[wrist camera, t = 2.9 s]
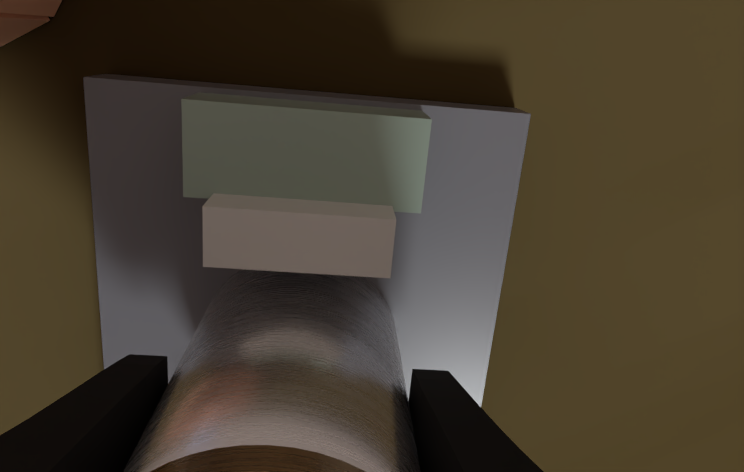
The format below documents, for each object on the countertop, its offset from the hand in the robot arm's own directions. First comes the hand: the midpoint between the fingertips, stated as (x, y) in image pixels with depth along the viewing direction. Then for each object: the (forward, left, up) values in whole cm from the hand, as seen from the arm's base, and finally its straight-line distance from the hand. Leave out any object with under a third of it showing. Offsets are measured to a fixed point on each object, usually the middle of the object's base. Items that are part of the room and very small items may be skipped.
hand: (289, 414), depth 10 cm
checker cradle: (0, 0, -3) cm, 3 cm away
